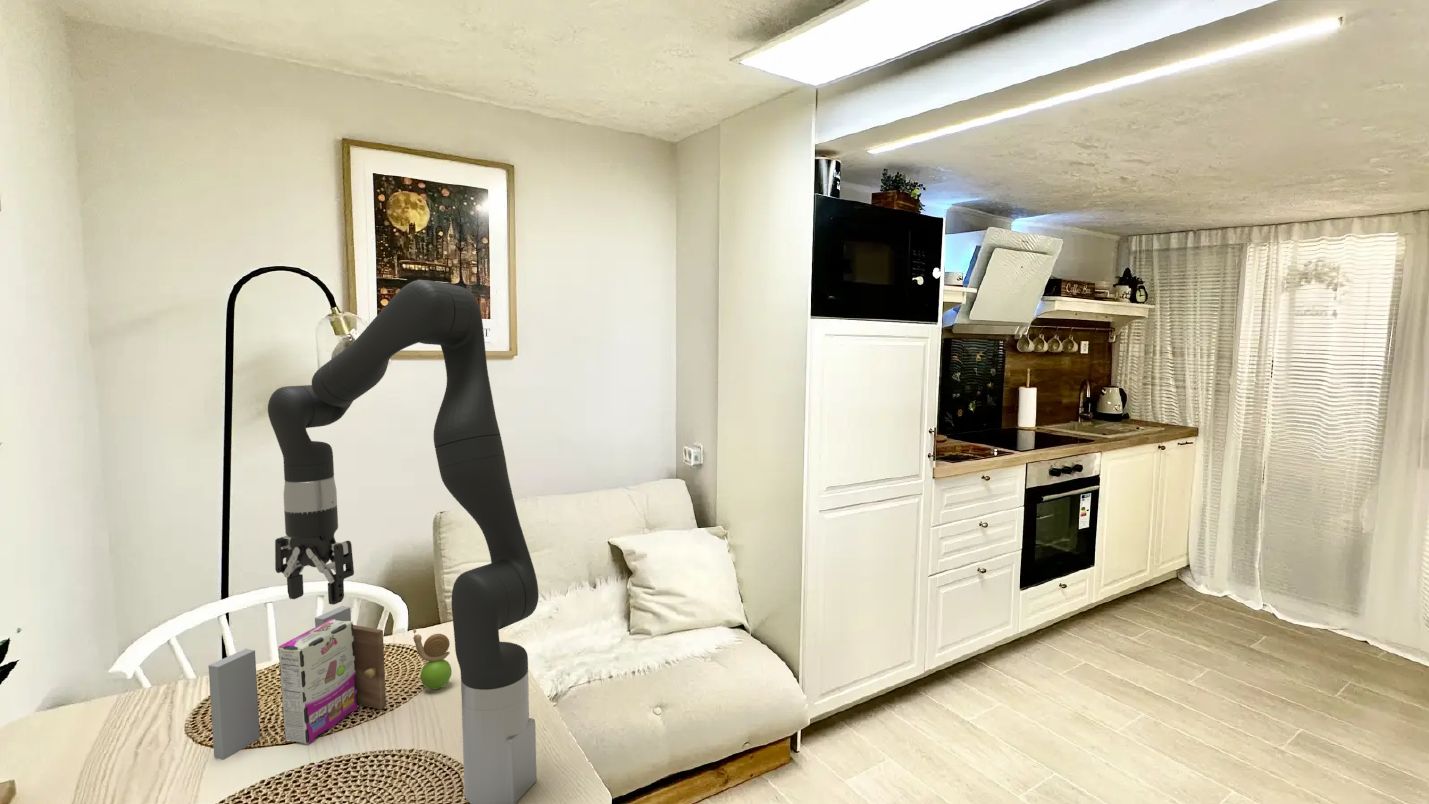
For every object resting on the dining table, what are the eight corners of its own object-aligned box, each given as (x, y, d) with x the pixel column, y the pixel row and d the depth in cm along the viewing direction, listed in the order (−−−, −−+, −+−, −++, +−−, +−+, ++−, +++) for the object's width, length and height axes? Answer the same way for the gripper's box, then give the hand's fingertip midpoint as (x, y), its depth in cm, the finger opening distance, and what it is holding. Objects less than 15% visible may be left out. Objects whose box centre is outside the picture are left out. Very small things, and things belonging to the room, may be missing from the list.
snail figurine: (415, 685, 126) (412, 624, 126) (451, 678, 129) (449, 618, 128) (415, 698, 122) (413, 635, 121) (452, 690, 124) (450, 629, 123)
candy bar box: (335, 706, 119) (331, 617, 118) (359, 709, 118) (355, 620, 116) (281, 742, 108) (276, 645, 107) (307, 746, 107) (302, 648, 106)
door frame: (353, 683, 127) (350, 607, 126) (223, 759, 103) (217, 667, 102) (345, 681, 128) (342, 606, 127) (214, 757, 104) (208, 665, 103)
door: (334, 694, 122) (330, 620, 121) (385, 705, 118) (382, 630, 117) (322, 700, 120) (319, 626, 119) (375, 712, 116) (371, 635, 115)
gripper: (363, 503, 111) (367, 596, 113) (298, 497, 116) (302, 588, 117) (325, 513, 104) (330, 613, 106) (257, 507, 108) (262, 603, 110)
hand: (315, 600), depth 111 cm, fingers open, 8 cm apart
